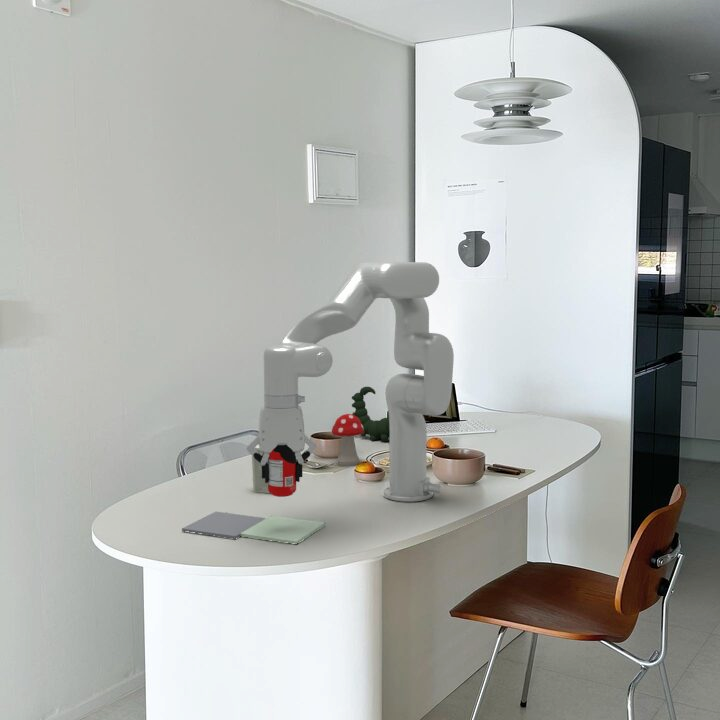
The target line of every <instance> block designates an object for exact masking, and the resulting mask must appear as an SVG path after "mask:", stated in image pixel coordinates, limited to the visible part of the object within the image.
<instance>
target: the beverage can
mask: <svg viewBox="0 0 720 720" xmlns="http://www.w3.org/2000/svg"><path fill="white" fill-rule="evenodd" d="M296 460H297V458H296V456H295V452H293V450H292V449H291V448H290V447H288V446H287V444H277V446H276V447H275V448H274V449H273V450H272V451H271V453H269V457H268V491H269V492H270V493H269V494H271V495H272V496H273V497H277V498H278V497H279V498H282V497H283V498H284V497H290V496H292V495H293V494H294V493H295V492H296V491H297V481H296Z"/></svg>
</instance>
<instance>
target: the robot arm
mask: <svg viewBox="0 0 720 720" xmlns="http://www.w3.org/2000/svg"><path fill="white" fill-rule="evenodd" d="M439 285H440V274H439V272H438V269H436V267H435V266H434V265H432V264H431V263H429V262H419V261H415V262H412V261H410V262H409V261H390V262H389V261H365V262H362V263H359V264H357V265H356V266H354V268H353V269H352V270H351V272H350V273H349V274H348V275H347V277H346V278H345V279H344V280H343V282H342V283H341V285H340V286H339V287H338V288H337V290H336V291H335V292H334V294H333V295H332V296H331V298H330V299H329V300H328V301H327V302H326V303H325V304H323V305H322V306H320V307H318V308H316V310H314V311H313V312H310V314H308V315H306V316H305V317H303V318H301V319H300V320H299V321H298V322H297V323H296V324H295V325H294V326H292V328H290V330H289V331H288V333H286V335H285V337H284V338H283V339H282V341H281V342H280V344H279V345H272V346H268V347H267V348H265V349H264V351H263V400H264V402H263V403H264V404H263V405H264V406H262V407H260V412H259V417H258V419H259V421H258V435H257V436H256V437H255V438H254V439H253V440H252V441H250V443H249V444H248V445H247V446H246V451H247V452H248V453H249V455H251V457H252V456H253V457H254V458H255V459H256V460H257V461H258V462H259V463H260V464H261V465H262V479H263V478H265V483H268V463H267V460H268V457H269V453H271V451H272V450H273V449H274V448H275V447H276V446H277V444H287V446H288V447H290V448H291V449H292V450H293V452H295V456H296V483H297V482H298V483H299V482H300V479H301V478H303V464H304V463H305V462H306V460H308V459H309V457H310V456H311V454H313V453H314V452H315V451H316V450H317V448H318V447H317V444H316V443H315V442H314V441H312V439H311V438H310V437H309V436H308V435H306V434H305V424H304V423H305V422H304V414H303V409H302V406H301V405H300V404H302V403H305V401H306V396H302V395H300V394H299V378H300V377H301V378H303V377H304V378H319V377H322V376H324V375H326V374H327V373H328V372H329V371H330V370H331V368H332V366H333V362H334V360H333V355H332V353H331V351H330V350H329V349H328V348H327V347H325V346H324V345H322V344H319V342H321V340H324V339H325V338H328V337H331V336H333V335H337V334H340V333H344V332H345V331H348V330H351V329H353V328H354V327H356V326H357V324H358V323H359V322H360V321H361V319H362V318H363V316H364V315H365V314H366V312H367V311H368V310H369V308H370V307H371V305H372V304H373V303H374V302H375V300H377V299H389V300H390V302H391V303H392V305H393V309H394V312H395V314H394V315H395V324H394V325H395V326H394V327H395V328H394V340H393V341H394V343H393V356H394V357H393V358H394V361H395V363H396V364H397V365H398V366H399V367H401V368H405V369H410V370H418V371H423V375H422V374H415V373H413V374H412V373H399V374H396V375H394V376H392V377H391V378H390V379H389V380H388V381H387V384H386V387H385V392H384V393H385V401H386V405H387V411H388V415H389V426H390V438H389V486H387V487H386V488H384V489H383V496H384V497H385V498H386V499H388V500H391V501H395V502H408V503H409V502H411V503H413V502H422V501H425V500H429V499H430V498H431V499H432V497H433V494H441V493H442V490H443V488H442V485H441V484H440V483H434V482H433V483H432V481H431V478H430V477H428V476H427V445H428V444H427V436H428V431H427V430H428V429H427V423H426V420H425V417H424V415H426V416H431V417H433V416H441V415H442V414H443V415H444V413H445V412H446V411H447V410H448V408H449V405H450V403H451V400H452V399H451V398H452V390H453V374H454V373H453V371H454V349H453V346H452V343H451V341H450V339H449V338H448V337H447V336H445V335H443V334H441V333H435V332H430V309H429V306H428V303H427V302H426V300H425V298H429V297H430V296H432V295H434V294H435V292H436V291H437V289H438V287H439ZM258 444H259V448H260V451H261V452H263V454H262V456H261V455H260V454H259V453H258V452H257V451H256V450H255V449H254V448H255V447H256V446H257V445H258ZM305 444H306V445H307V446H308V447H307V449H306V450H305ZM302 451H304V452H303V453H302V454H301V452H302Z"/></svg>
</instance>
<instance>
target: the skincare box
mask: <svg viewBox="0 0 720 720" xmlns="http://www.w3.org/2000/svg"><path fill="white" fill-rule="evenodd" d="M254 449H255V450H256V451H257V452H258V453H259V454H260V455H261V456H262V454H263V452H261V451H260V448H259V444H258V445H257V446H256V447H255V448H254ZM251 463H252V486H253V487H252V488H253V491H252V492H254V493H260V494H261V493H262V494H263V493H264V494H271V493H270V492H269V491H268V483H265V478H263V479H262V465H261V464H260V463H259V462H258V461H257V460H256V459H255V458H254V457H253V456H252V455H251ZM267 463H268V460H267Z"/></svg>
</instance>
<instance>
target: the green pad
mask: <svg viewBox="0 0 720 720" xmlns="http://www.w3.org/2000/svg"><path fill="white" fill-rule="evenodd" d="M265 518H266V519H265V520H263V521H261V522H259V523H258V524H256V525H254V526H252V527H251V528H249V529H247V530H245V531H244V532H242V533H240V536H241V537H240V538H244V537H248V538H247V539H251V538H255V539H254V540H258V539H263V540H262V541H265V540H272V541H280V542H288V543H295V544H297V543H299V542H300V541H302V540H303V539H305V538H306V539H308V538H309V537H311V536H312V535H314V534H315V533H317V532H318V531H319V529H320V528H321V529H322V527H323V526H324V527H325V525H326V523H325V522H320V521H313V520H305V519H298V518H289V517H282V516H276V515H275V516H274V515H270V516H269V517H265ZM324 527H323V528H324ZM321 529H320V530H321ZM317 530H318V531H317ZM316 531H317V532H316ZM314 532H315V533H314ZM313 533H314V534H313ZM311 534H312V535H311ZM310 535H311V536H310ZM308 536H309V537H308ZM307 537H308V538H307ZM306 539H305V540H306ZM272 541H271V542H272ZM303 541H304V540H303ZM303 541H302V542H303ZM299 544H300V543H299Z"/></svg>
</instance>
